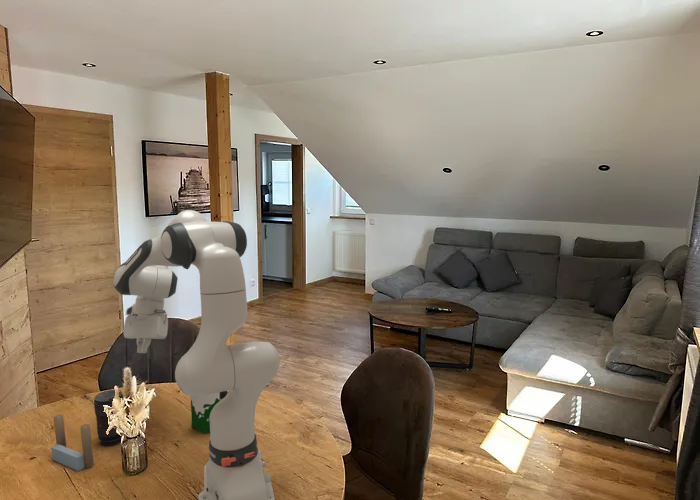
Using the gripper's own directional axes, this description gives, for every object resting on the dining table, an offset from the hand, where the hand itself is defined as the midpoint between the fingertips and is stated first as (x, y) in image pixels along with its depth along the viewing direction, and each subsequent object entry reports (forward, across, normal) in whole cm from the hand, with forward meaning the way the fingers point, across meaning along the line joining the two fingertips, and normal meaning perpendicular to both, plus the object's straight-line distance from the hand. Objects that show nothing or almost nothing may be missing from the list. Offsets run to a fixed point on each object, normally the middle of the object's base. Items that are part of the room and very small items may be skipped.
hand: (141, 353), depth 160 cm
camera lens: (+27, +4, +2) cm, 28 cm away
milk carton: (+22, -13, -20) cm, 32 cm away
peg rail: (+32, +3, +14) cm, 35 cm away
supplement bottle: (+13, +2, -34) cm, 37 cm away
